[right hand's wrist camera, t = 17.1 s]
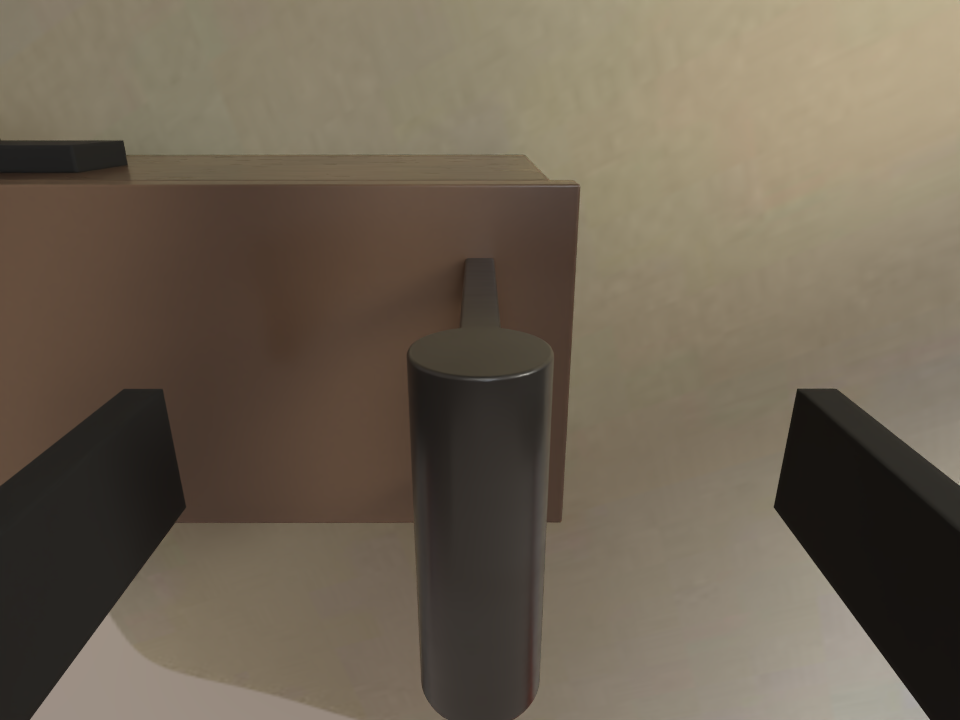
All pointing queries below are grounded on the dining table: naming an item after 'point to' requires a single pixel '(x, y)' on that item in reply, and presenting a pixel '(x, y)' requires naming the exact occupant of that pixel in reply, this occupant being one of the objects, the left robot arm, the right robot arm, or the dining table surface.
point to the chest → (303, 168)
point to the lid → (324, 371)
